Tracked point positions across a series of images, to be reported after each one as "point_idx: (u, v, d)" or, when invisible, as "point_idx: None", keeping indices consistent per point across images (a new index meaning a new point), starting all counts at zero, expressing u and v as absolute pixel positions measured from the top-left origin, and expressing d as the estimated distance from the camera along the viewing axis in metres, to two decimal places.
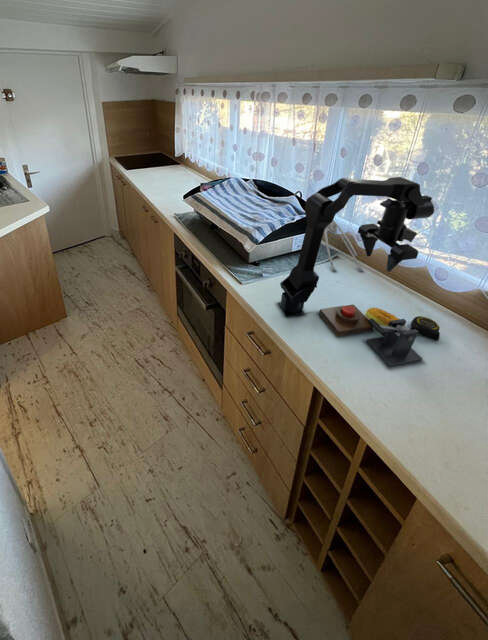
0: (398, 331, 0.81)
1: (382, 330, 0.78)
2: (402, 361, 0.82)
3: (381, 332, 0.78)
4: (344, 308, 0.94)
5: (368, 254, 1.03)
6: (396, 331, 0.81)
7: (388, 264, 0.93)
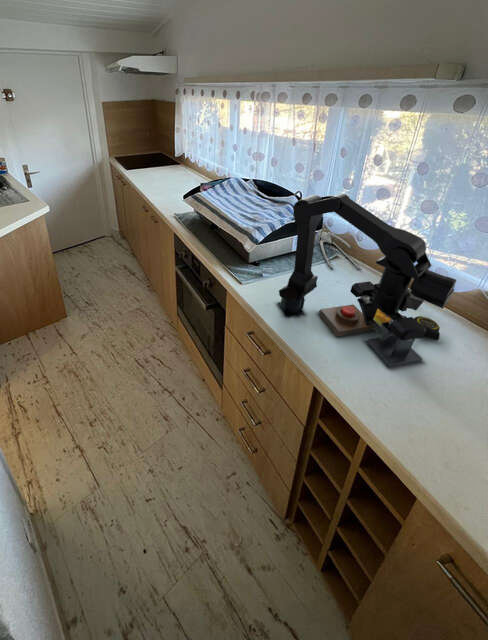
0: None
1: None
2: (402, 361, 0.82)
3: None
4: (344, 308, 0.94)
5: (368, 323, 0.82)
6: None
7: (382, 333, 0.76)
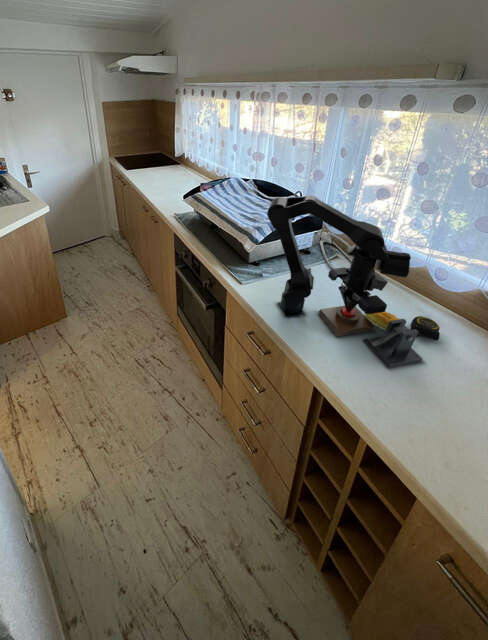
0: (396, 335, 0.82)
1: (374, 351, 0.82)
2: (402, 361, 0.82)
3: (374, 353, 0.82)
4: (344, 309, 0.95)
5: None
6: (394, 337, 0.82)
7: (347, 305, 0.92)
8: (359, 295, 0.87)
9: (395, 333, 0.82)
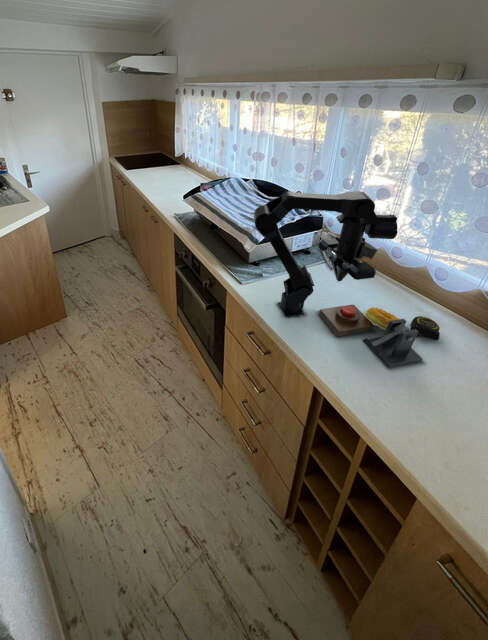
0: (396, 335, 0.82)
1: (374, 351, 0.82)
2: (402, 361, 0.82)
3: (374, 353, 0.82)
4: (344, 308, 0.94)
5: None
6: (394, 337, 0.82)
7: (337, 274, 0.92)
8: (349, 263, 0.87)
9: (395, 333, 0.82)
